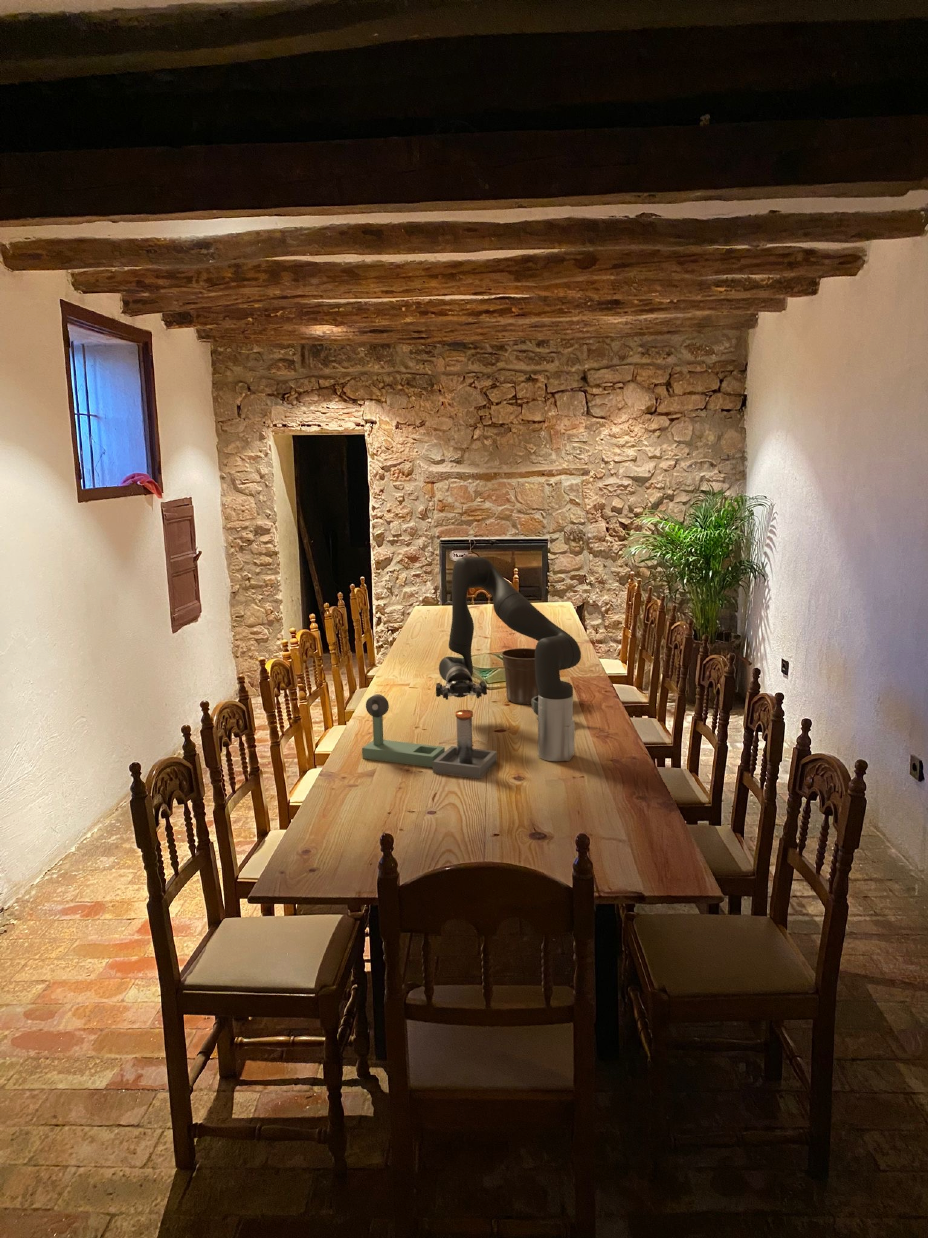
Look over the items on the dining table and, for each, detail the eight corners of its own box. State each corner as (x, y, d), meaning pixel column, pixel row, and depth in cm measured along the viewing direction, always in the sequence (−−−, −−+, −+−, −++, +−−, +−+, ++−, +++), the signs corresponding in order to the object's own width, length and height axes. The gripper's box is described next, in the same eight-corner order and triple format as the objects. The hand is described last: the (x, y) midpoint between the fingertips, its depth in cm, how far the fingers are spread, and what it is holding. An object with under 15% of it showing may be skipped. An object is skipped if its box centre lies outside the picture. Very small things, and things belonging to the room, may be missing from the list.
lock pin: (476, 761, 225) (475, 710, 222) (470, 767, 221) (469, 715, 218) (460, 759, 226) (459, 709, 224) (453, 765, 222) (452, 714, 220)
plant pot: (549, 693, 292) (550, 647, 289) (549, 707, 277) (550, 658, 274) (502, 693, 294) (502, 647, 291) (500, 706, 278) (499, 658, 275)
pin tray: (496, 762, 227) (496, 751, 227) (480, 779, 215) (479, 767, 215) (451, 756, 232) (451, 745, 231) (433, 772, 220) (432, 761, 219)
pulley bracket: (444, 757, 231) (443, 697, 228) (433, 767, 224) (431, 705, 221) (375, 749, 239) (373, 690, 235) (362, 758, 231) (360, 698, 228)
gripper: (434, 669, 246) (436, 683, 230) (483, 667, 247) (488, 681, 231) (435, 694, 247) (436, 710, 231) (483, 692, 248) (488, 707, 232)
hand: (462, 695), depth 231 cm, fingers open, 8 cm apart
